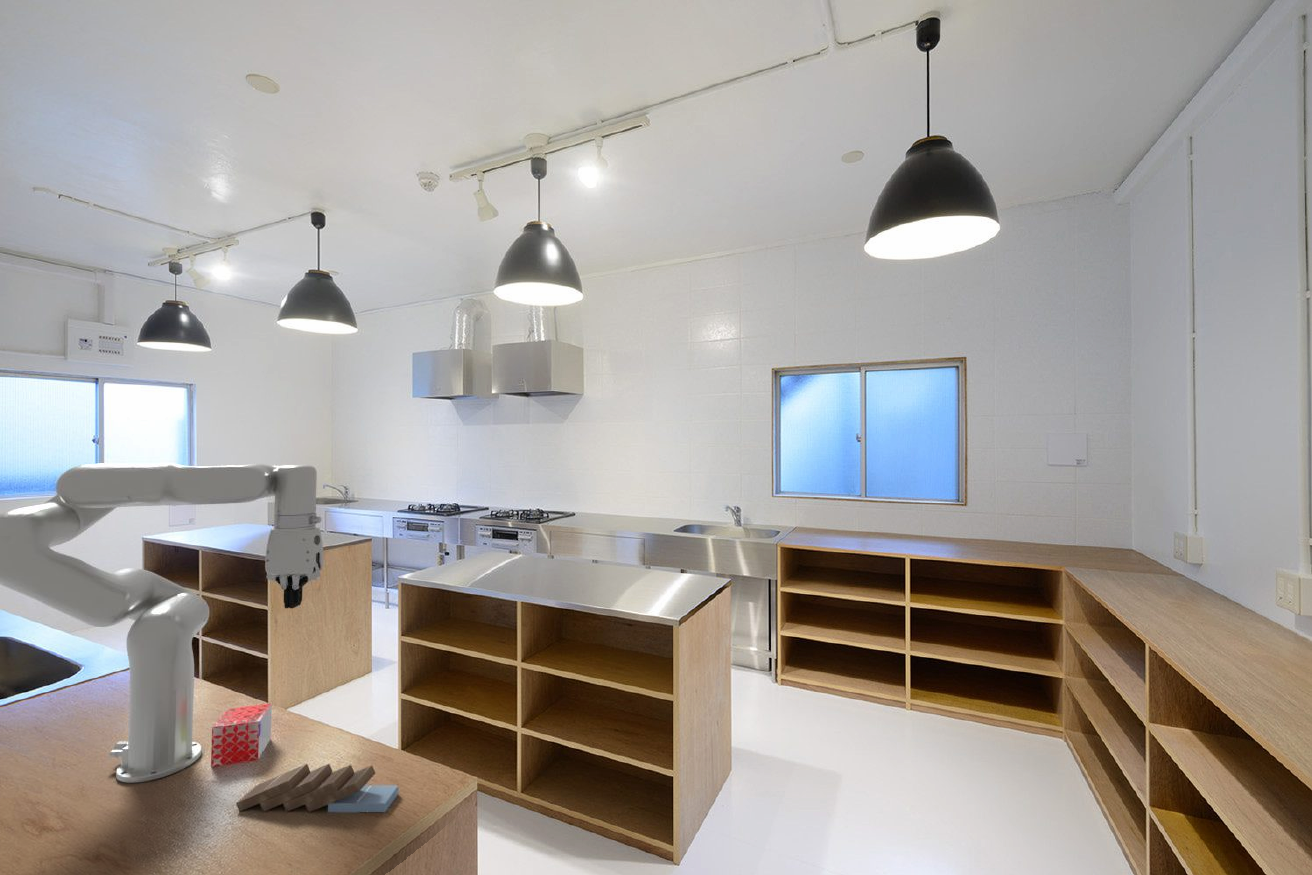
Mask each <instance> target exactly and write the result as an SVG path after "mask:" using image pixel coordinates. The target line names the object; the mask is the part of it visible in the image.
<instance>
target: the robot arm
mask: <svg viewBox="0 0 1312 875" xmlns="http://www.w3.org/2000/svg"><path fill="white" fill-rule="evenodd" d="M317 474H318V473H317V469H316V467H315V466H313V465H309V464H285V465H276V464H275V465H273V464H267V463H266V464H265V463H250V464H243V465H226V466H225V465H220V466H219V465H217V466H216V465H215V466H212V465H211V466H209V465H208V466H202V465H201V466H198V465H197V466H196V465H195V466H193V465H192V466H191V465H183V464H179V463H173V462H172V463H171V462H157V463H156V462H153V463H152V462H148V463H147V462H146V463H141V462H139V463H114V462H103V463H102V462H100V463H86V464H82V465H81V464H80V465H77V466H74V467H71V468H69V469H67V470H66V471H65V472H63V473H62V474H61V475H60V476H59V477H58V479H57V481H56V484H55V491H56V495H55V496H53V497H51V498H50V499H48V500H46V501H45V502H44V503H41V504H36V505H30V506H24V507H18V508H14V509H10V510H7V511H4V512H1V513H0V585H1V586H3V587H5V588H8V589H10V590H12V591H15V592H17V593H20V594H22V595H24V596H27V597H30V598H31V599H33V600H36V601H38V602H41V603H42V604H44V605H46V606H48V607H50V608H52V609H54V610H57V611H59V612H61V613H63V614H65V615H67V616H70V617H72V618H74V619H76V620H78V621H79V622H82V623H85V624H87V625H90V626H92V627H93V626H94V627H97V628H106V627H111V626H115V625H117V624H120V623H122V622H124V621H125V620H127V619H130V620H132V621H134V622H133V624H131V627H130V628H129V630H128V632H127V636H126V644H125V645H126V646H125V647H126V652H127V658H128V665H129V666H128V667H129V701H128V702H129V704H128V705H129V707H128V709H129V710H128V733H127V734H128V738H127V740H119V741H118V742H116V743H115V745H114V748H113V749H112V750H111V751H110V753H109V755H108V756H109V758H112V759H113V758H114V759H115V758H116V759H117V758H121V763H120V765H119V766H118V767H117V768H116V772H115V778H116V779H117V780H118V781H120V782H121V783H127V784H128V783H129V784H131V783H133V784H134V783H135V784H136V783H143V782H149V781H154V780H158V779H160V778H164V777H167V776H170V775H172V774H175V773H177V772H179V771H182V770H184V769H186V768H187V767H189V766H191V765H192V764H193V763H195V762H196V761H197V760H198V759H200V757H201V756H202V751H203V750H202V749H203V747H202V745H201V744H200V743H199V742H197V741H193V732H194V731H193V727H194V700H195V699H194V698H195V697H194V695H195V693H194V692H195V662H194V661H195V660H194V659H195V658H194V652H193V644H192V642H193V639H194V637H195V635H197V634H198V633H199V632H200V631H201V630H202V629H203V628H204V626H206V624H207V622H209V619H210V618H209V617H210V607H209V604H208V603H207V601H206V600H205V599H204V598H202V597H201V595H198V594H197V593H195V592H193V591H191V590H190V589H187V588H185V587H184V586H181V585H179V584H177V583H175V582H173V581H172V580H170V579H167V578H165V577H163V576H161V575H159V574H157V573H155V572H153V571H149V570H147V569H143V568H137V567H129V568H127V567H126V568H121V569H117V570H115V571H112V572H108V571H104V570H102V569H100V568H98V567H96V566H93V565H91V564H89V563H87V562H85V561H83V560H81V559H79V558H77V557H74V556H71V555H67V554H64V553H61V552H59V551H58V552H57V551H56V550H53V548H52V547H55V546H56V547H57V546H59V545H62V544H64V543H67V542H69V541H71V540H73V539H76V538H77V537H78V536H79V535H81V534H83V533H84V532H85V531H87V530H89V528H91V527H92V526H93V525H95V524H96V523H97V522H99V521H101V520H102V519H103V518H104V517H106V516H108V515H109V514H110V513H111V512H113V511H114V510H116V509H117V508H122V507H123V508H124V507H129V508H130V507H153V506H158V507H159V506H182V505H183V506H186V505H187V506H188V505H189V506H191V505H226V504H227V505H228V504H242V503H243V504H245V503H251V502H254V501H257V500H259V499H263V498H268V497H269V498H270V497H274V508H273V510H274V512H273V513H274V514H273V527H272V528H271V530H270V532H269V535H268V539H267V544H266V551H265V561H264V562H265V563H264V564H265V565H264V566H265V568H264V569H265V572H266V576H265V577H266V579H267V580H269V581H274V582H275V581H276V583H277V584H278V585H279V586H280V588H281V590H283V603H284V609H295V608H296V607H298V606H300V605H301V604H302V601H303V587H305V586H306V584H308V582H310V581H315V580H318V579H320V578H321V572H320V571H321V570H323V568H324V544H323V537H322V534H321V529H320V527H319V526H317V524H319V523H321V522H322V517H321V516H317V513H316V512H317V507H316V506H317V505H316V504H317V477H318V475H317ZM51 548H52V549H51Z"/></svg>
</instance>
